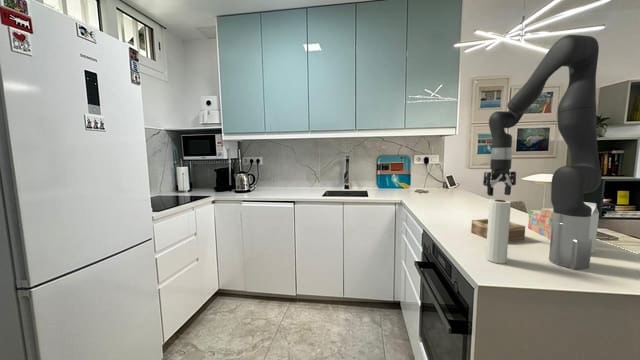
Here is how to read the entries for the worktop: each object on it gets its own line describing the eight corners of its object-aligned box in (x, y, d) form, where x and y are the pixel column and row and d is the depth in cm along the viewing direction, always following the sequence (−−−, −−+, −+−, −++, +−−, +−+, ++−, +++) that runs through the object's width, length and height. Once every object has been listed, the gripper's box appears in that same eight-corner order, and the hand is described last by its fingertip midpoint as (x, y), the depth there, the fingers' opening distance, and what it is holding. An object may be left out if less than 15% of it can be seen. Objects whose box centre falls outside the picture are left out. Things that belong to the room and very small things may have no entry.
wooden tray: (524, 241, 113) (525, 226, 112) (497, 243, 110) (498, 228, 109) (495, 231, 127) (496, 218, 126) (471, 233, 124) (471, 220, 123)
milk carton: (586, 256, 96) (592, 204, 94) (561, 249, 102) (566, 201, 100) (594, 252, 99) (600, 202, 97) (570, 246, 105) (574, 199, 103)
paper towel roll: (507, 265, 88) (511, 202, 86) (485, 261, 92) (489, 201, 89) (505, 258, 95) (510, 199, 92) (485, 254, 98) (489, 197, 95)
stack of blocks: (527, 228, 130) (529, 203, 129) (541, 229, 129) (544, 204, 127) (557, 243, 109) (559, 214, 108) (574, 244, 108) (577, 214, 107)
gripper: (493, 158, 110) (491, 197, 111) (522, 158, 112) (520, 196, 114) (479, 158, 117) (478, 194, 119) (507, 158, 119) (505, 193, 121)
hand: (498, 195), depth 116 cm, fingers open, 8 cm apart
